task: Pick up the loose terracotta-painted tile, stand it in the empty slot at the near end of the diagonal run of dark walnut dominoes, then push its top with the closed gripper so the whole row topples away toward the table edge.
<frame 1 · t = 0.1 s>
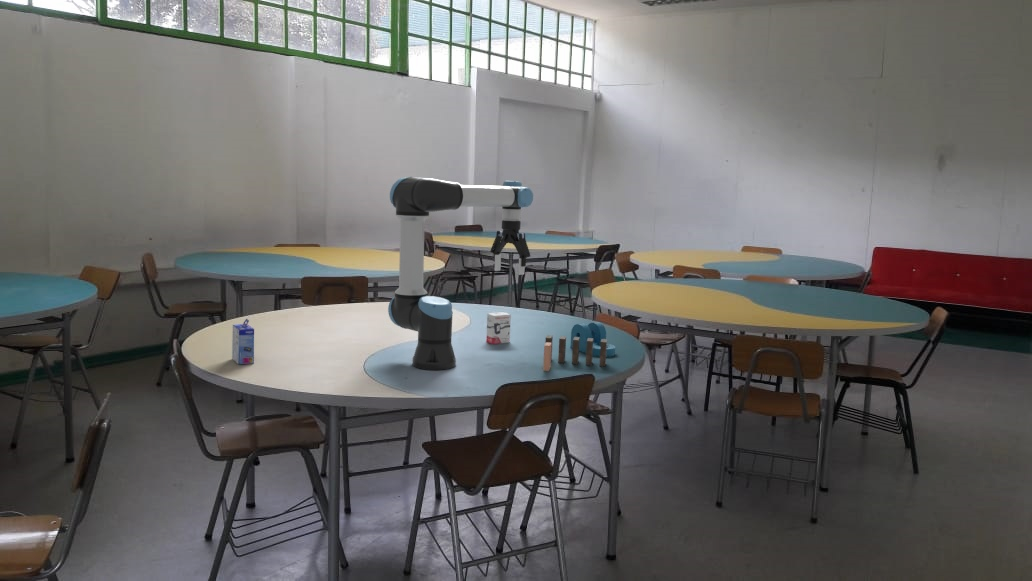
hand: (509, 272, 304), 28 cm above the table, fingers open, 13 cm apart
tile4: (575, 362, 275), on the table
camera mount: (595, 352, 295), on the table
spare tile: (546, 369, 265), on the table
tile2: (548, 360, 277), on the table
tile3: (561, 361, 276), on the table
ink cartridge box: (243, 361, 259), on the table
ink box: (498, 342, 304), on the table
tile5: (588, 363, 275), on the table
tile6: (602, 364, 274), on the table
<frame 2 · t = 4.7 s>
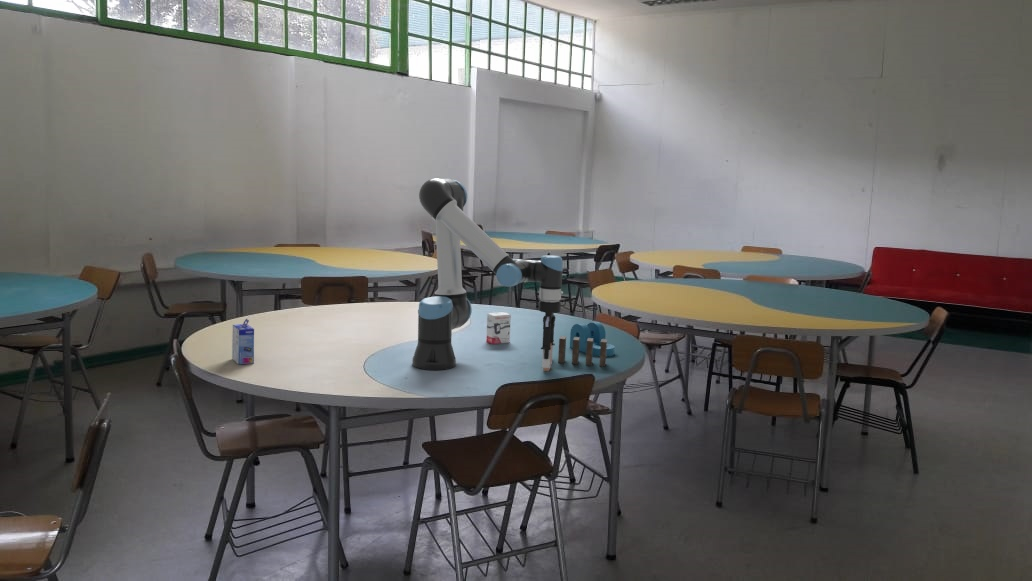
hand: (547, 365, 264), 1 cm above the table, fingers closed on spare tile, 5 cm apart
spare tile: (546, 369, 265), on the table, touching gripper
everything else where it was.
when the fingers open (2 cm above the table, at t = 9.3 s): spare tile stays where it is, on the table.
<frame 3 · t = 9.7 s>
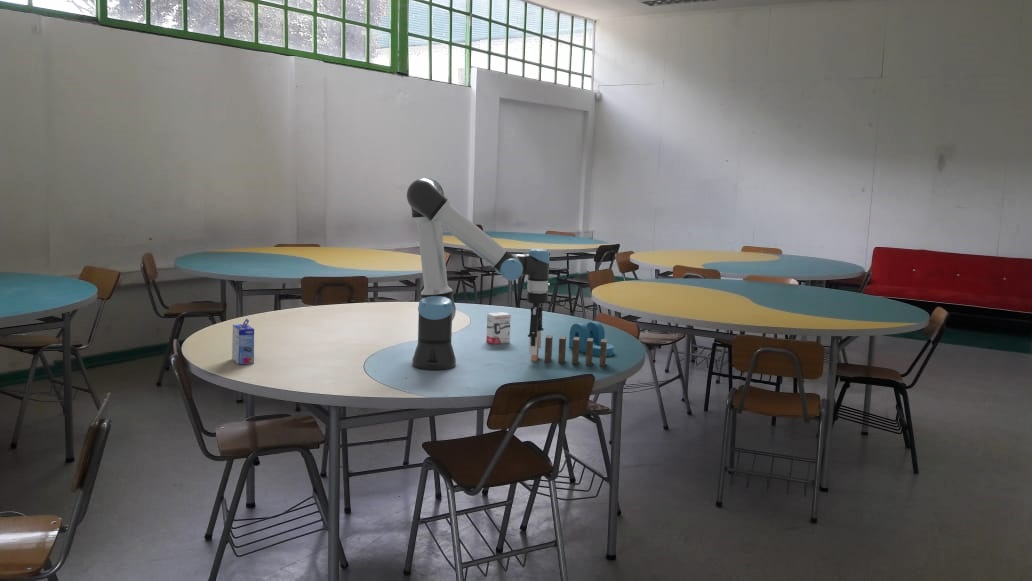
hand: (534, 351, 277), 3 cm above the table, fingers open, 10 cm apart
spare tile: (534, 359, 278), on the table
everything else where it was.
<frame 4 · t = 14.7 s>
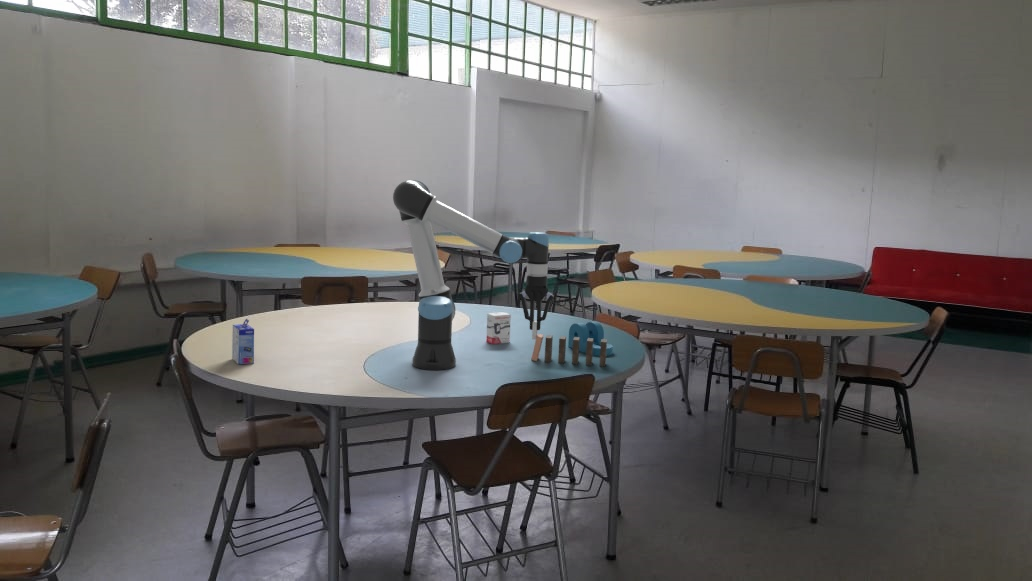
hand: (534, 338, 277), 8 cm above the table, fingers closed
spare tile: (534, 358, 278), on the table, tilted 10°
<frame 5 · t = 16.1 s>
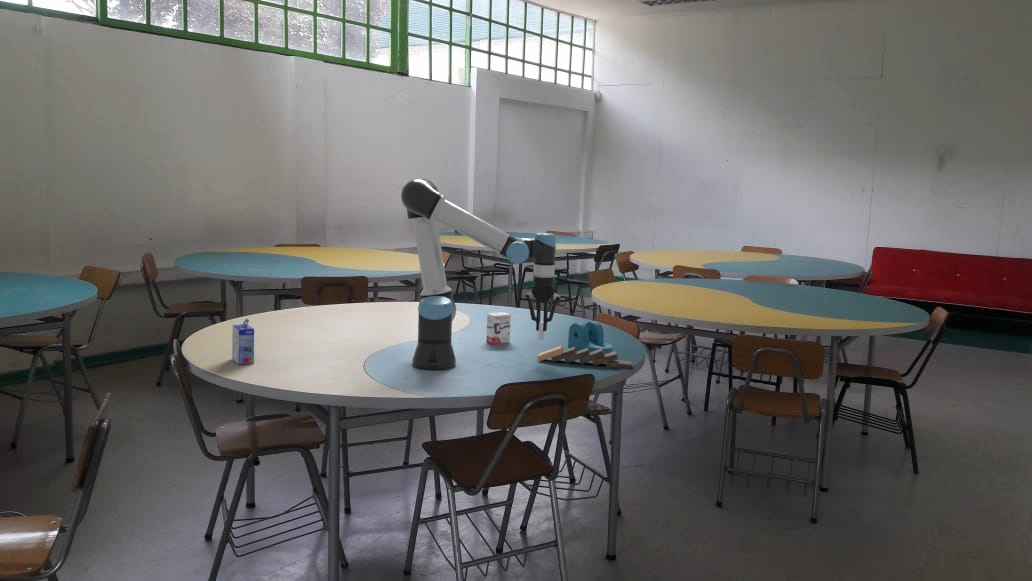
hand: (540, 339, 276), 8 cm above the table, fingers closed
tile4: (580, 360, 275), point 1 cm above the table, tilted 65°, touching tile3, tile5
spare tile: (539, 357, 277), point 1 cm above the table, tilted 66°, touching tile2
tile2: (552, 358, 277), point 1 cm above the table, tilted 66°, touching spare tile, tile3
tile3: (565, 359, 276), point 1 cm above the table, tilted 66°, touching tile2, tile4
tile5: (593, 361, 274), point 1 cm above the table, tilted 71°, touching tile4, tile6
tile6: (606, 363, 274), point 1 cm above the table, tilted 90°, touching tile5
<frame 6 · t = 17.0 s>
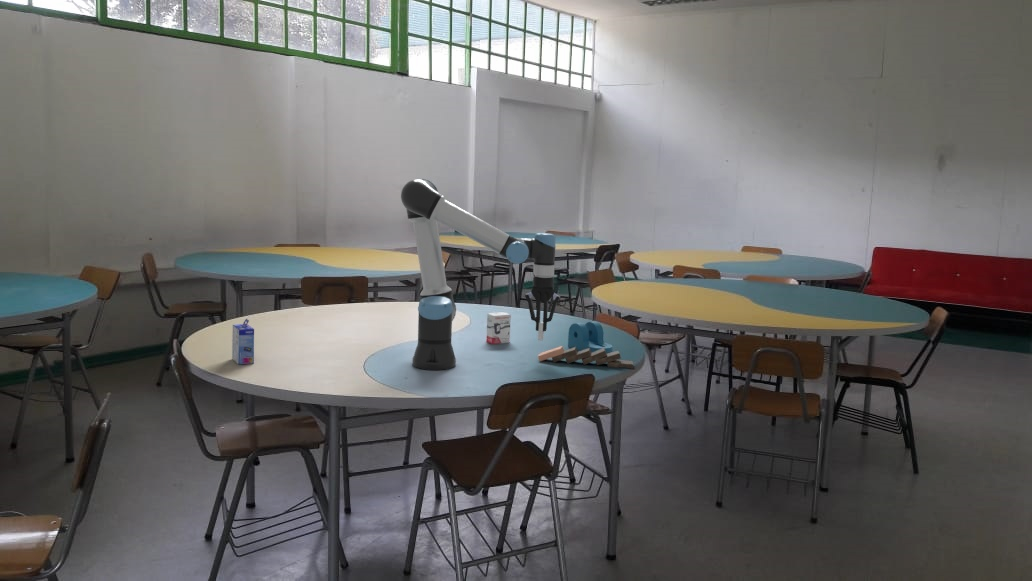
hand: (540, 339, 276), 8 cm above the table, fingers closed
tile4: (582, 360, 274), point 1 cm above the table, tilted 64°, touching tile3, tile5
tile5: (595, 361, 274), point 1 cm above the table, tilted 71°, touching tile4
tile6: (607, 363, 274), on the table, tilted 90°
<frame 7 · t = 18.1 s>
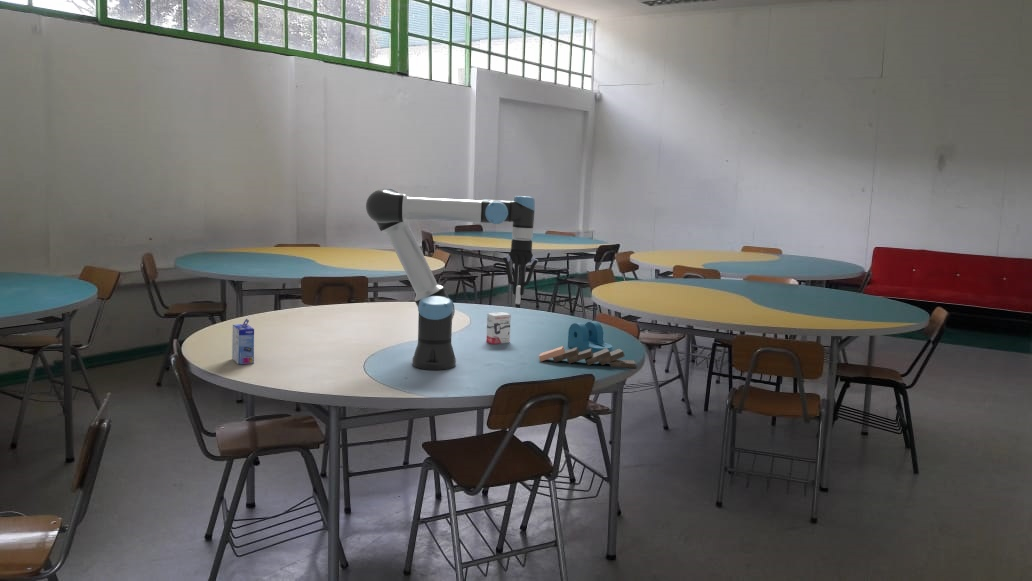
hand: (517, 303, 275), 21 cm above the table, fingers closed
tile4: (586, 361, 274), point 1 cm above the table, tilted 66°, touching tile3, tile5
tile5: (599, 361, 274), point 1 cm above the table, tilted 67°, touching tile4
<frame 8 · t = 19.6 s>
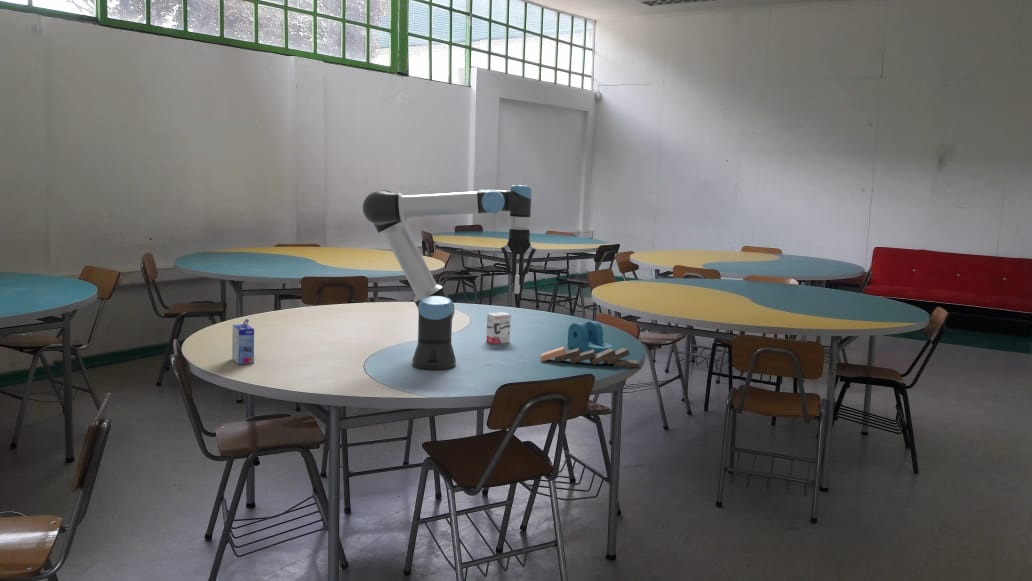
hand: (516, 293, 275), 24 cm above the table, fingers closed
tile4: (591, 361, 273), point 1 cm above the table, tilted 66°, touching tile3, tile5
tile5: (604, 361, 274), point 1 cm above the table, tilted 68°, touching tile4, tile6
tile6: (613, 363, 274), on the table, tilted 90°, touching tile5
at the end: tile6 tilted 90°; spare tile tilted 68°; the gripper is holding nothing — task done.
